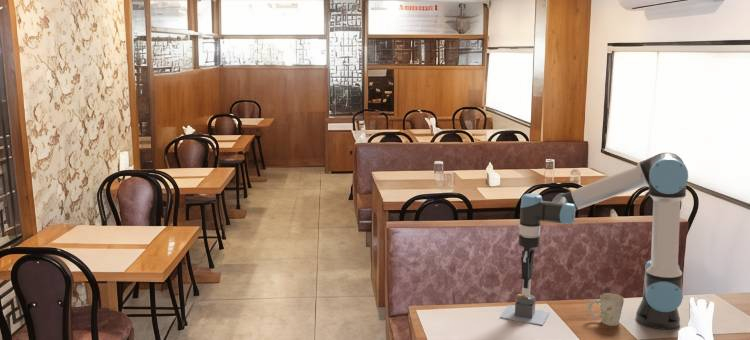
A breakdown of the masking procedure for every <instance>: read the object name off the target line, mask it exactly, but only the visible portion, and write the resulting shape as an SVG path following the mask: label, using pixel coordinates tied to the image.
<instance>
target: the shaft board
mask: <svg viewBox="0 0 750 340" xmlns="http://www.w3.org/2000/svg"><path fill="white" fill-rule="evenodd" d="M549 315H550V311H544V310H539V309H535V313H534V315H533V317H532V319H529V318H523V317H517V316H515V305H510V304H508V305H507V306H506V308H505V309H504V311H502V314H500V316H499V318H500V319H503V318H504V320H508V321H509V320H510V321H516V322H519V323H520V322H521V323H526V324H532V325H537V326H544V324H545V323H546V320H547V319H548V317H549Z"/></svg>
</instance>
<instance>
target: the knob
mask: <svg viewBox="0 0 750 340" xmlns="http://www.w3.org/2000/svg"><path fill="white" fill-rule="evenodd" d="M514 306H515V316H517V317H523V318H529V319H532V317H533V315H534V313H535V310H536V296H535V295H532V294H530V296H523V295H522V293H519V294H518V293H517V294H516V295H515V305H514Z"/></svg>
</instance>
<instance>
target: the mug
mask: <svg viewBox="0 0 750 340" xmlns="http://www.w3.org/2000/svg"><path fill="white" fill-rule="evenodd" d="M624 301H625V299H624V297H623V296H622V295H621V294H617V293H609V292H608V293H607V292H606V293H602V294H600V296H599V299H593V300H591V301H589V302H588V304H587V310H586V311H587V312H588V314H589V315H590V316H592V317H594V318H601V319H600V320H601V323H602V324H603V325H605V326H606V325H607V326H610V327H616V326H618V325H620V319H621V315H622V310H623V306H624ZM594 304H599V305H600V314H595V313H594V312H593V311H592V306H593V305H594Z"/></svg>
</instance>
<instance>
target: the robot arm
mask: <svg viewBox="0 0 750 340" xmlns="http://www.w3.org/2000/svg"><path fill="white" fill-rule="evenodd" d="M688 180H689V171H688V168H687V165H686V164H685V163H684V161H683V159H682V158H681V157H680V156H679V155H677V154H676V153H672V152H667V151H666V152H661V153H657V154H655V155H653V156H651V157H649V158H647V159H645V160H642V161H640V162H638V163H637V165H636V166H634V167H632V168H628V169H626V170H622V171H621V172H618V173H616V174H612V175H610V176H607V177H605V178H602V179H600V180H596V181H593V182H591V183H589V184H586V185H583V186H581V187H578V188H576V189H573V190H571V191H567V192H564V193H563V192H561V193H558V194H556V195H555V196H554V197H553V198H552V201H548V200H547V201H546V200H543V197H542V195H540V194H539V193H538V194H536V193H525V194H522V196H521V201H520V211H519V212H520V213H519V225H517V227H518V229H519V232H518V233H519V235H518V245H519V246H520V247H523V250H522V251H521V255H522V256H521V258H520V259H521V261H520V262H521V277H520V280H522V284H521V285H522V287H521V289H522V290H521V294H522V295H523V296H530V295H531V282H532V280H533V278H534V276H533V269H534V259H535V254H536V253H535V252H536V249H534V248H538V247H539V246H540V235H541V222H545V223H546V222H547V223H554V224H562V225H572V224H574V223H575V219H576V211H579V210H580V209H584V208H587V207H590V206H592V205H595V204H597V203H600V202H603V201H605V200H609V199H611V198H613V197H617V196H620V195H622V194H623V195H624V194H625V193H628V192H631V191H634V190H636V189H639V188H642V187H647V188H648V196H650V197H651V199H652V201H653V202H652V223H651V226H652V228H651V252H650V253H651V255H650V256H651V257H650V260H648V261H646V263H645V266H644V269H645V270H644V277H643V279H644V281H643V292H642V299H641V301H640V303H639V306H638V308H637V309H636V312H635V313H636V314H635V319H636V321H637V322H638V323H640V324H642V325H643V326H646V327H647V326H648V327H650V328H653V329H654V328H655V329H659V330H660V329H661V330H671V329H672V328H673V329H677V328H678V327H680V323H681V317H680V313H679V310H678V308H679V307H680V306H681V305H682V303H683V299H684V295H683V272H682V270H681V269H680V265H679V250H680V249H679V245H680V225H681V219H680V218H681V201H682V200H683V199H684V198H685V197H686V196H687V195H686V194H687V183H688ZM676 327H677V328H676ZM673 329H672V330H673Z"/></svg>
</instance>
